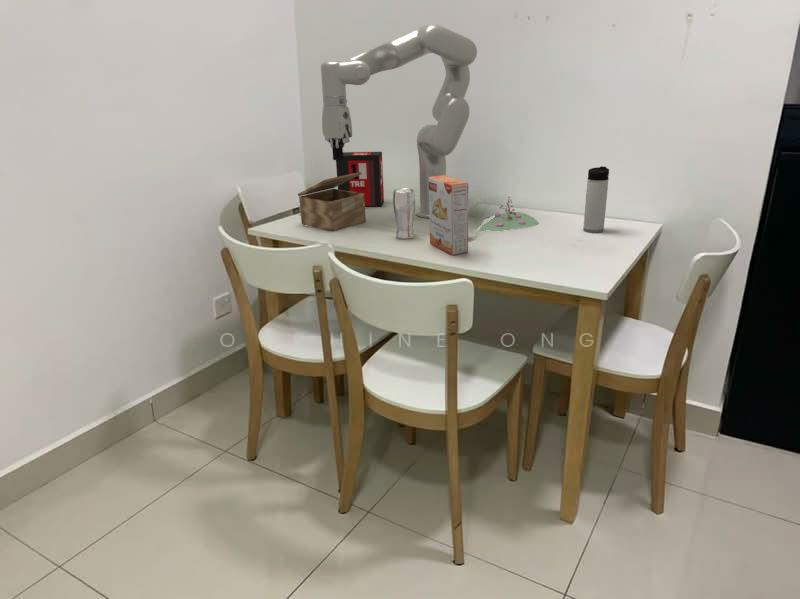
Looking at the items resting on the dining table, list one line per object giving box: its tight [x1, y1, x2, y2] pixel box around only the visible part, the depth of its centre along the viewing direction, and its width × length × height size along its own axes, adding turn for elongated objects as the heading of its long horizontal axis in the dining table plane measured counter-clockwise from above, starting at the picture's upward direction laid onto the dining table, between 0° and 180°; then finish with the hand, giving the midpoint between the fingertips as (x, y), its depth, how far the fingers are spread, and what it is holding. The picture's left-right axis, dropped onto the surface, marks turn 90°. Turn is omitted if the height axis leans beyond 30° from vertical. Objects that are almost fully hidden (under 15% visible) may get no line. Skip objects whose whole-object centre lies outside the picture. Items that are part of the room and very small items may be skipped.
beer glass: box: [392, 187, 416, 240], centre depth 194 cm, size 7×7×15 cm
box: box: [298, 188, 367, 233], centre depth 213 cm, size 16×16×10 cm
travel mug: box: [583, 165, 610, 234], centre depth 192 cm, size 6×7×20 cm
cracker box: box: [428, 174, 469, 256], centre depth 179 cm, size 14×6×21 cm, turn 25°
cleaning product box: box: [335, 151, 385, 208], centre depth 236 cm, size 16×9×20 cm, turn 84°
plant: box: [480, 196, 539, 232], centre depth 206 cm, size 25×21×9 cm
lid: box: [297, 172, 361, 197], centre depth 210 cm, size 16×16×1 cm
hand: (338, 159), depth 203 cm, fingers closed
